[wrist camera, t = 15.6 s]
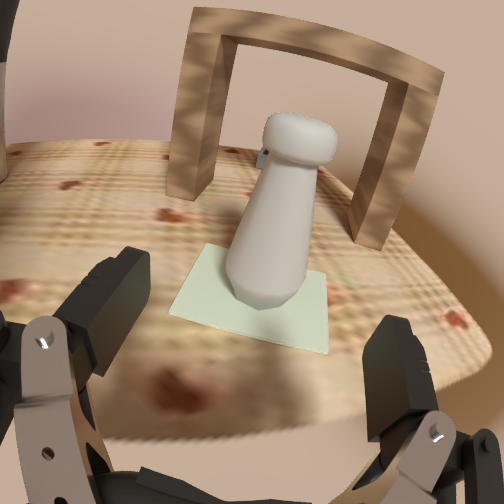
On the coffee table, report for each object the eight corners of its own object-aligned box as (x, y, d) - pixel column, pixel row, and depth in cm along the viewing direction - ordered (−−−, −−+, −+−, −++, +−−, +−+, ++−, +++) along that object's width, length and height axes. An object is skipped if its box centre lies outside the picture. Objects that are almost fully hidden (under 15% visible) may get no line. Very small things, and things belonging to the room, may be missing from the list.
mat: (168, 314, 19) (168, 311, 19) (206, 245, 27) (206, 242, 27) (326, 354, 19) (328, 352, 19) (324, 276, 26) (325, 273, 26)
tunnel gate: (166, 195, 34) (193, 6, 22) (189, 174, 40) (215, 20, 28) (380, 250, 33) (444, 72, 21) (369, 220, 40) (418, 72, 27)
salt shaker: (266, 261, 26) (305, 111, 19) (310, 303, 23) (373, 138, 15) (207, 278, 23) (235, 102, 16) (250, 330, 19) (306, 127, 12)
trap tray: (255, 167, 48) (258, 154, 47) (261, 157, 54) (263, 145, 53) (314, 182, 48) (318, 169, 46) (313, 170, 54) (316, 159, 52)
